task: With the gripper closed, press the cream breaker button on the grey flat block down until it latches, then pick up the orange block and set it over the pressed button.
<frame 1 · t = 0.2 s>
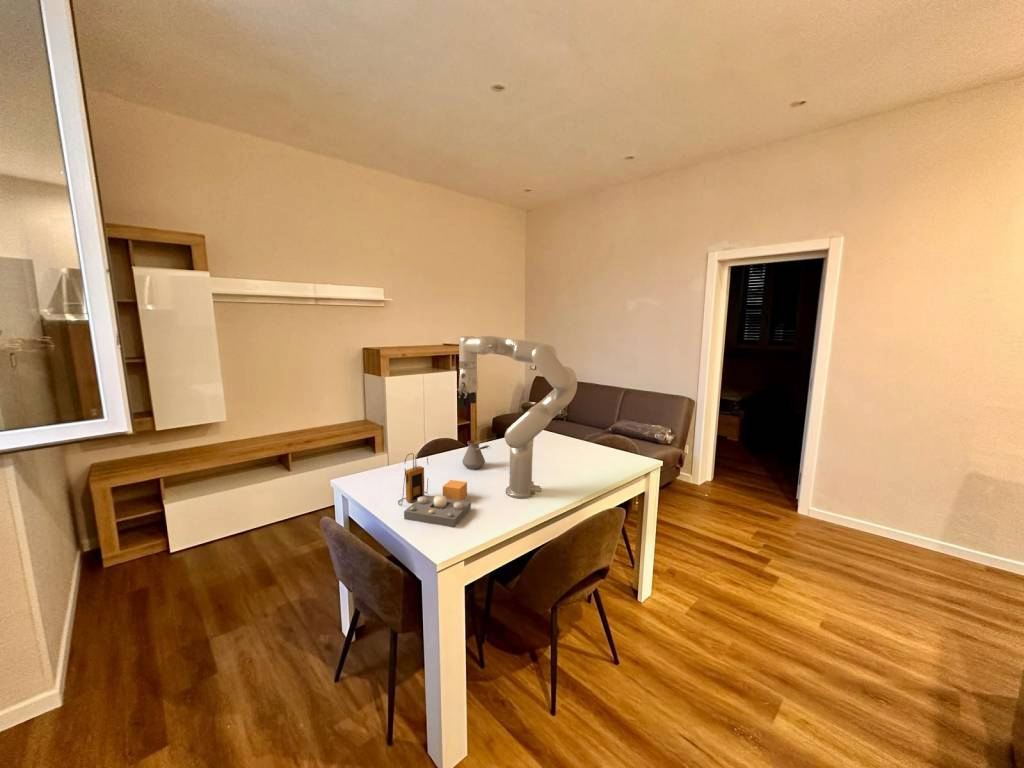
hand: (467, 405, 174), 36 cm above the table, tool pointing down, fingers open, 9 cm apart
orange block: (455, 498, 166), on the table
breaker button: (440, 502, 153), point 4 cm above the table, slide at 0.0 cm
grey flat block: (438, 514, 152), on the table
coffee pot: (478, 470, 199), on the table
multimeter: (409, 497, 166), on the table
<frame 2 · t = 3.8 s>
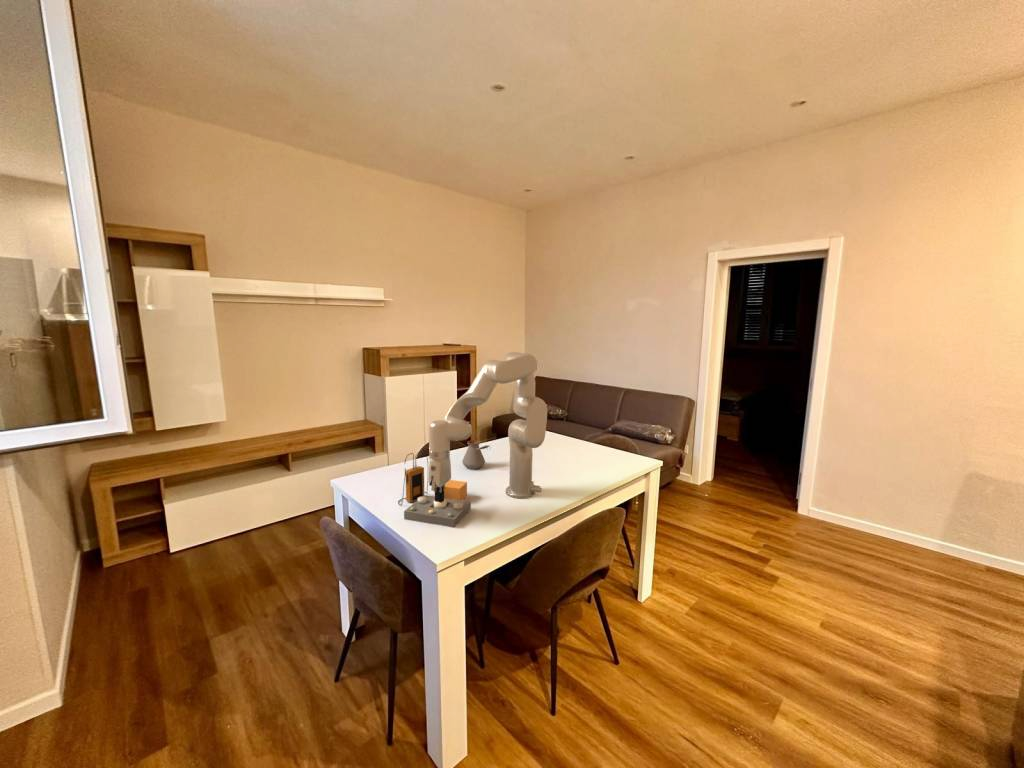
hand: (439, 501, 152), 5 cm above the table, tool pointing down, fingers closed
breaker button: (440, 504, 153), point 3 cm above the table, slide at 1.1 cm, touching gripper
everything else where it was.
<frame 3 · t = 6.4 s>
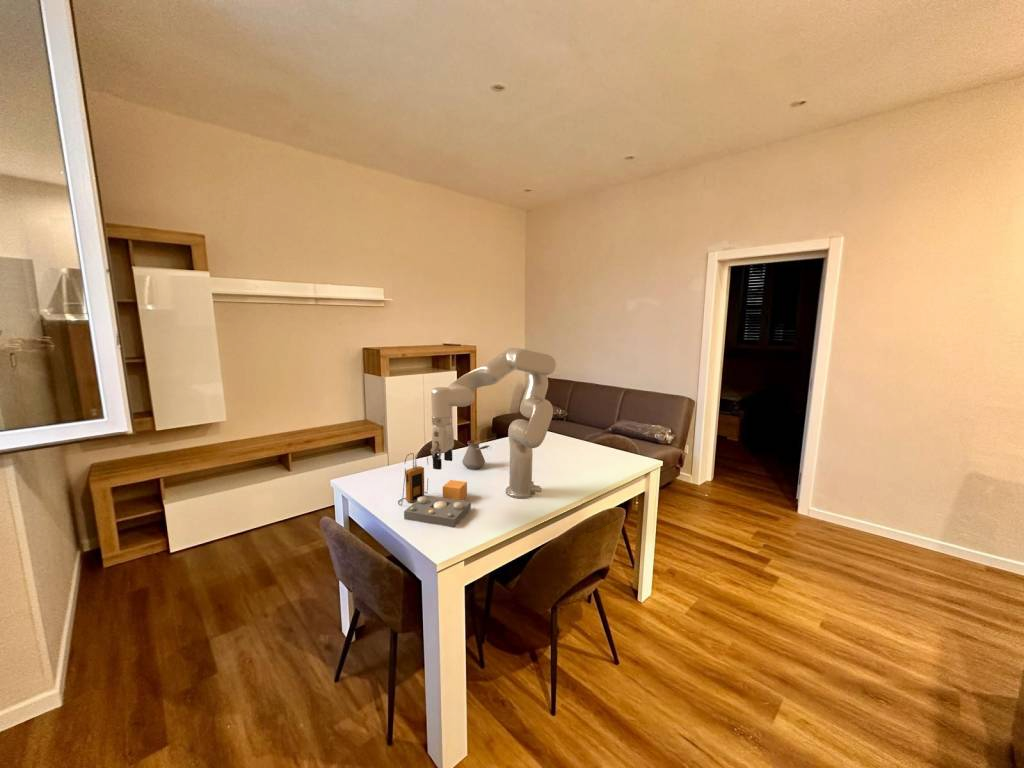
hand: (443, 464, 153), 18 cm above the table, tool pointing down, fingers open, 9 cm apart
breaker button: (440, 507, 153), point 2 cm above the table, slide at 2.3 cm
everything else where it was.
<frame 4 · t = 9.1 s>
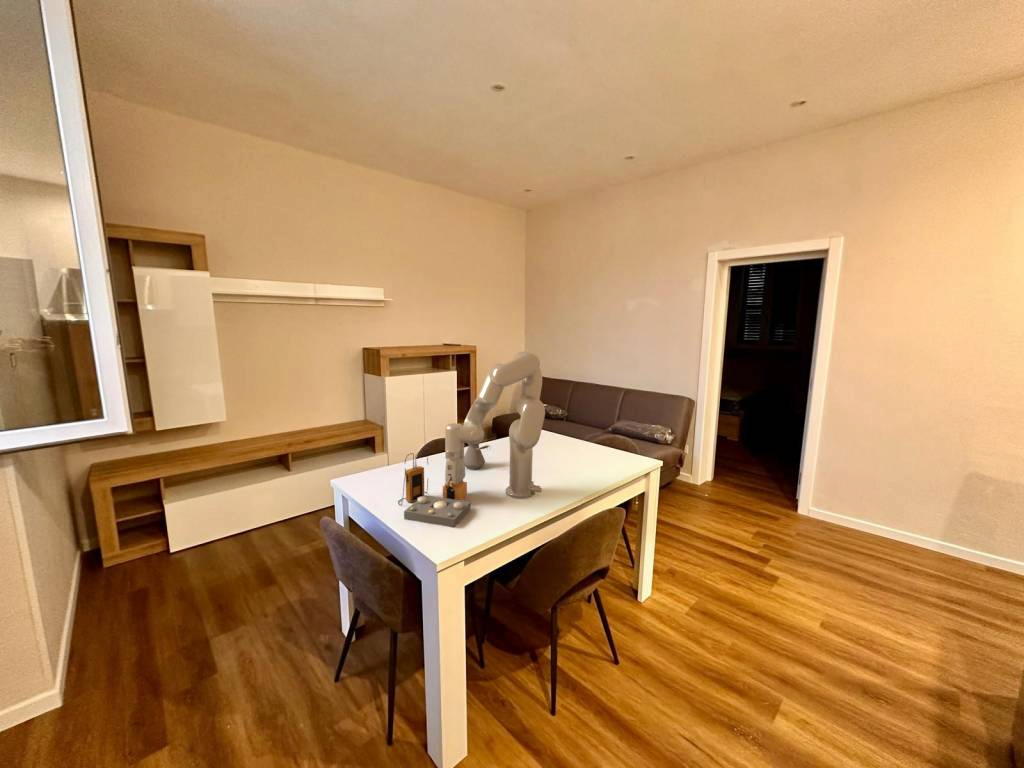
hand: (454, 495, 166), 1 cm above the table, tool pointing down, fingers closed on orange block, 7 cm apart
orange block: (455, 498, 166), on the table, touching gripper
everything else where it was.
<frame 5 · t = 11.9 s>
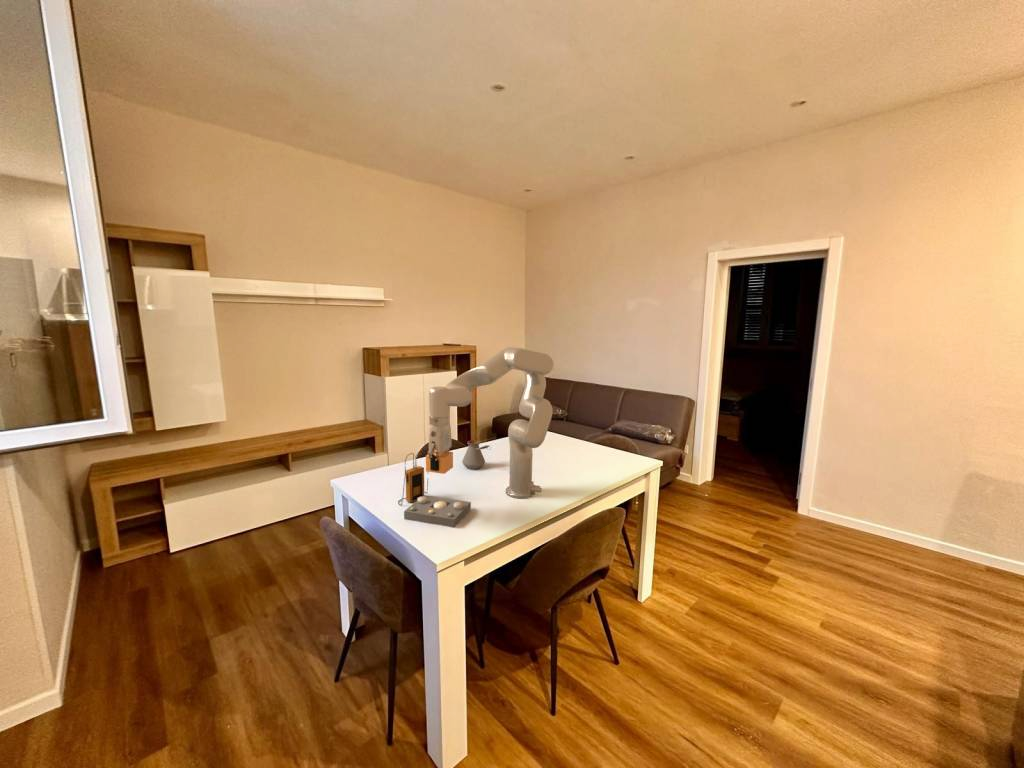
hand: (439, 466, 151), 18 cm above the table, tool pointing down, fingers closed on orange block, 7 cm apart
orange block: (439, 469, 151), point 17 cm above the table, touching gripper
everything else where it was.
when the fingers open (6 cm above the table, at t = 14.7 s): orange block drops 2 cm, resting on grey flat block.
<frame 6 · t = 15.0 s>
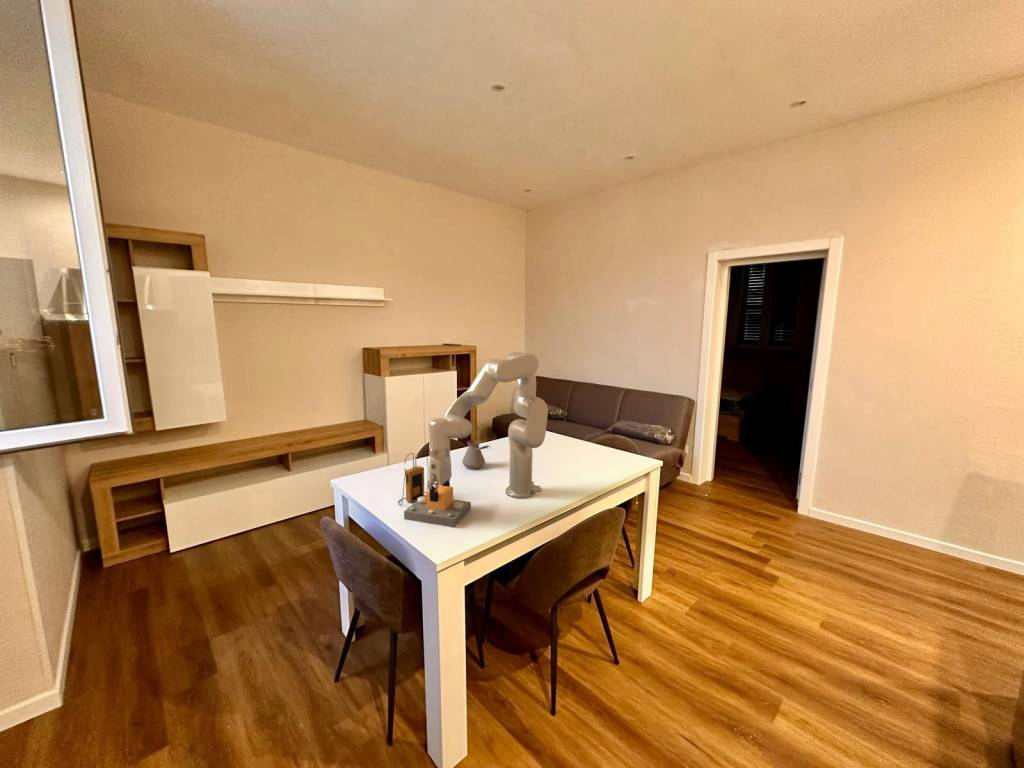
hand: (440, 496, 152), 6 cm above the table, tool pointing down, fingers open, 9 cm apart
orange block: (440, 504, 153), point 3 cm above the table, touching grey flat block
everything else where it was.
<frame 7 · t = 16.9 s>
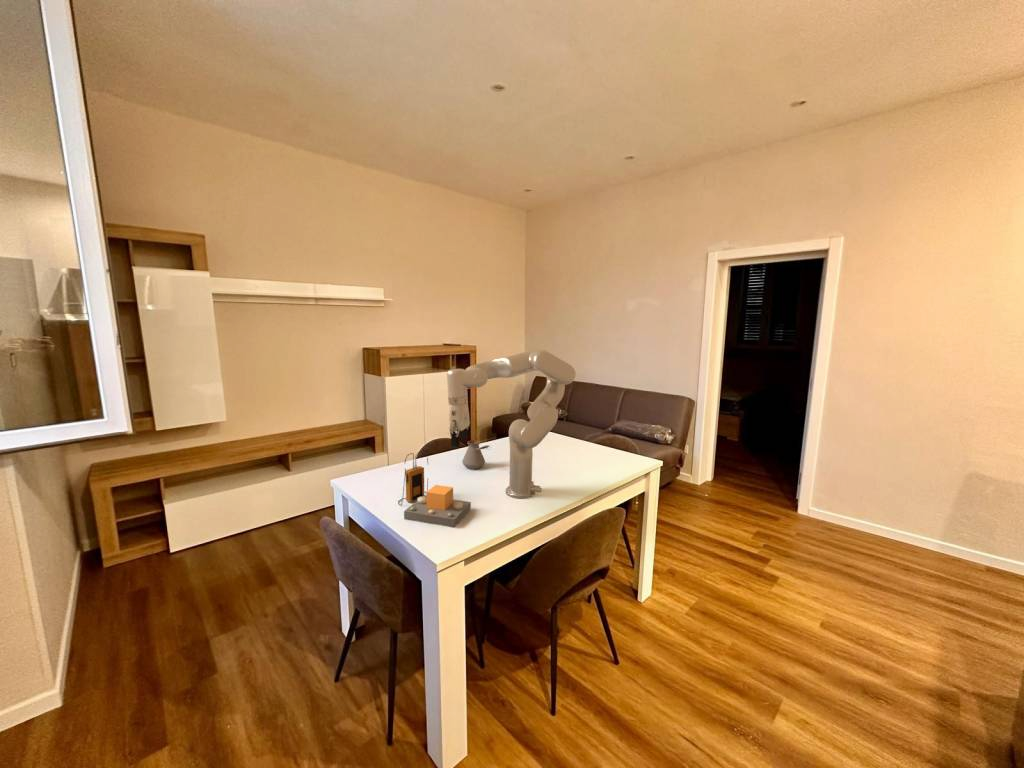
hand: (460, 442, 161), 24 cm above the table, tool pointing down, fingers open, 9 cm apart
nothing on the table moved.
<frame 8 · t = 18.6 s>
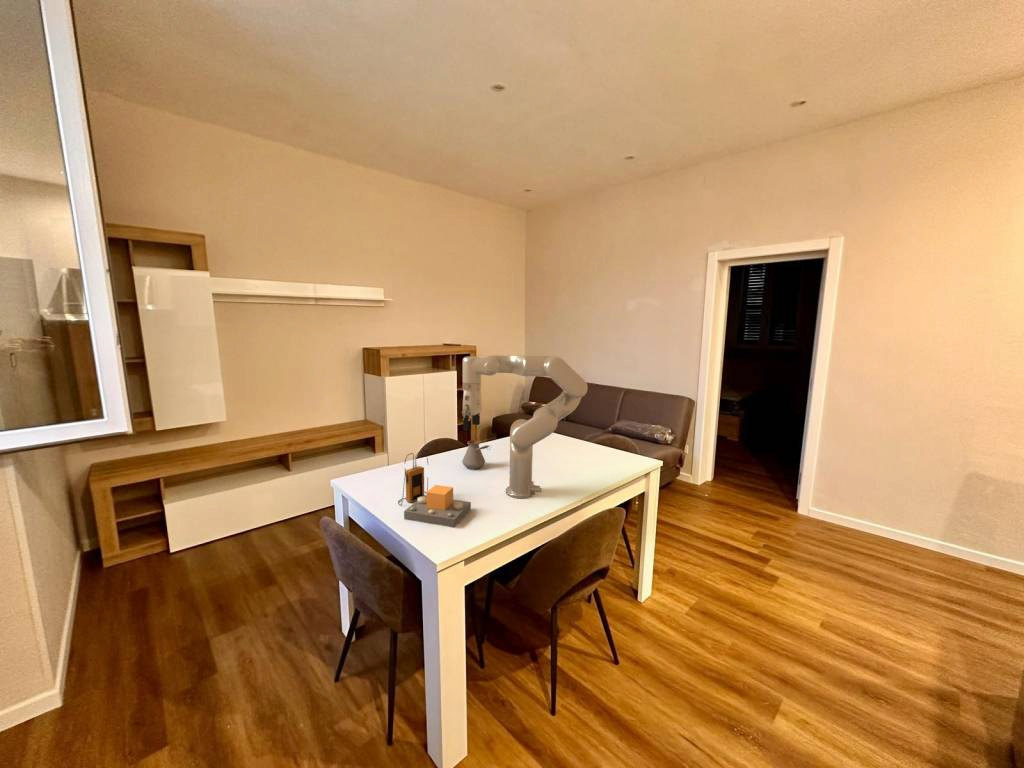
hand: (471, 427, 169), 28 cm above the table, tool pointing down, fingers open, 9 cm apart
nothing on the table moved.
at the end: breaker button slide at 2.3 cm; orange block 0.0 cm from the target spot, point 3.0 cm above the table; orange block tilted 0° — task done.
